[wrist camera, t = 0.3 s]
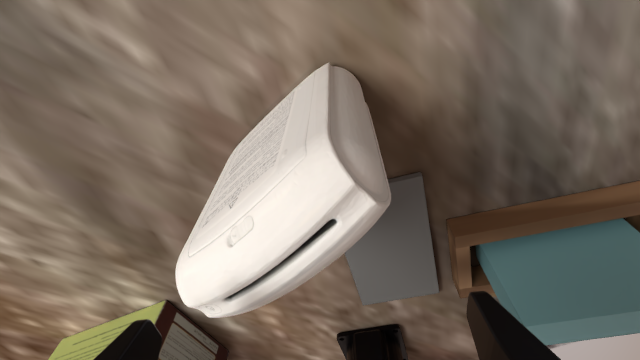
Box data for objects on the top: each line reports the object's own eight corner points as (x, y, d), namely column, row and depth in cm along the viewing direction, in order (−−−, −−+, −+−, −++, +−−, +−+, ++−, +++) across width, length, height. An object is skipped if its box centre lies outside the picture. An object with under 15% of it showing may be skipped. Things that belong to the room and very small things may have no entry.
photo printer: (268, 192, 24) (225, 359, 14) (221, 155, 23) (134, 314, 12) (377, 100, 20) (430, 240, 10) (330, 47, 19) (335, 149, 8)
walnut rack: (630, 249, 27) (651, 267, 25) (452, 279, 29) (460, 298, 28) (652, 178, 23) (678, 194, 21) (446, 219, 25) (454, 237, 24)
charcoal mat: (437, 288, 30) (439, 292, 29) (362, 300, 31) (362, 305, 31) (420, 172, 23) (422, 175, 23) (325, 193, 24) (325, 197, 24)
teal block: (606, 232, 26) (703, 324, 19) (475, 255, 28) (523, 348, 21) (612, 209, 25) (718, 299, 18) (474, 235, 26) (525, 327, 20)
